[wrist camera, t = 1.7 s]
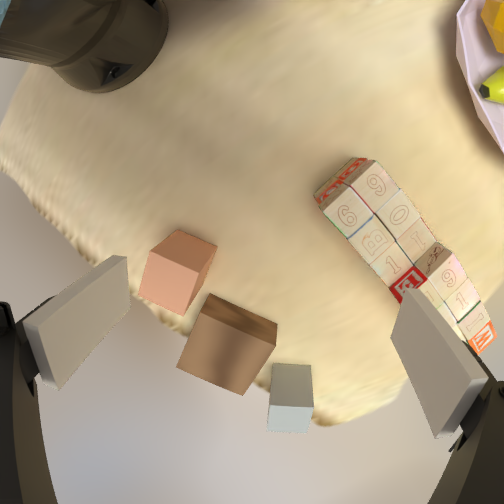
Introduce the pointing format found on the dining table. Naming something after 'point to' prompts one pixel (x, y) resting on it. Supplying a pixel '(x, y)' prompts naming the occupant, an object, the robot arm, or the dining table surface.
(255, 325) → the walnut base
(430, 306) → the robot arm
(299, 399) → the greyblue block
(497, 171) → the dining table surface
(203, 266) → the terracotta block
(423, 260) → the stack of blocks
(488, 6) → the fruit bowl
